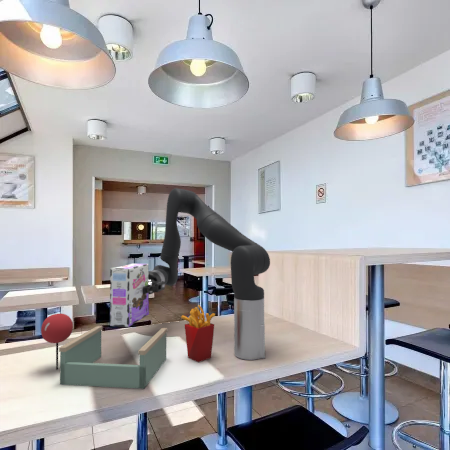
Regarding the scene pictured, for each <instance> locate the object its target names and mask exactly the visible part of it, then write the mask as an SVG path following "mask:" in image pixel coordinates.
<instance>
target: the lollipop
mask: <svg viewBox="0 0 450 450" xmlns="http://www.w3.org/2000/svg"><path fill="white" fill-rule="evenodd" d="M73 325H74V324H73V320H72V318H71V317H70V315H68V314H65V313H54V314H51V315H49V316H47V317H46V318H45V319H44V320H43V322H42V324H41V328H40V333H41V337H42V338H43V340H44V341H46V342H47V343H50V344H55V345H56V346H55V370H59V344H60V343H62V342H64V341H66V340H68V339H69V338H70V336H71V335H72V333H73V330H74V329H73V328H74V326H73Z"/></svg>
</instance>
